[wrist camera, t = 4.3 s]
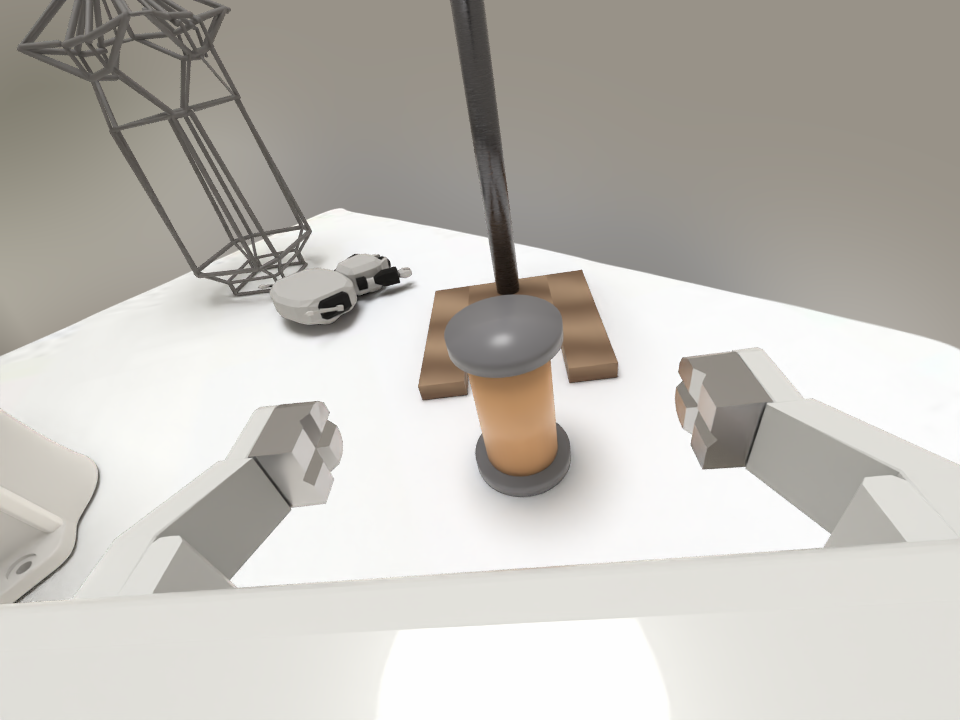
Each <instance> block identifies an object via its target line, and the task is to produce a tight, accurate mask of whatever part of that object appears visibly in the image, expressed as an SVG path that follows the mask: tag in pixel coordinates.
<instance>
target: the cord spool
mask: <svg viewBox="0 0 960 720" xmlns="http://www.w3.org/2000/svg"><path fill="white" fill-rule="evenodd" d="M444 339H445V343H446V346H447V350H448V354H449V357H450V359H451V361H452V362H453V363H454V365H455V366H457V367H458V368H459V369H461V370H463V371H464V372H467V373H468V375H469V380H470V384H471V388H472V392H473V397H474V401H475V405H476V409H477V413H478V418H479V422H480V426H481V430H482V434H481V436H480V438H479V439H478V442H477V445H476V453H475V454H476V460H477V464H478V468H479V471H480V474H481V476H482V478H483V479H484V480H485V482H486V483H487V484H488V485H489V486H491V487H492V488H493V489H495V490H497V491H498V492H501V493H503V494H506V495H510V496H517V497H526V496H533V495H537V494H541V493H543V492H546V491H548V490H550V489H551V488H553V487H554V486H556V485H557V484H558V483H559V482H560V481H561V480H562V479H563V478H564V476H565V475H566V473H567V471H568V469H569V466H570V461H571V454H570V443H569V439H568V436H567V434H566V432H565V431H564V430H563V428H562V427H561V426H560V425H559V424H557V423H556V419H555V407H554V396H553V384H552V372H551V361H550V360H551V359H552V358H553V357H554V356H555V355H556V354H557V353H558V351H559V350H560V348H561V346H562V343H563V321H562V316H561V314H560V311H559V310H558V309H557V308H556V307H555V306H554V305H553V304H551V303H550V302H548V301H546V300H544V299H541V298H538V297H534V296H529V295H501V296H495V297H490V298H487V299H483V300H480V301H478V302H475V303H473V304H471V305H469V306H467V307H465V308H463V309H462V310H460V311H459V312H458V313H456V314H455V315H454V316H453V317H452V318H451V320H450V321H449V322H448V324H447V326H446V328H445V332H444Z"/></svg>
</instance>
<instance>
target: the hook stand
mask: <svg viewBox="0 0 960 720" xmlns="http://www.w3.org/2000/svg"><path fill="white" fill-rule="evenodd" d="M450 3H451V9H452V15H453V21H454V27H455V34H456V40H457V46H458V52H459V58H460V65H461V71H462V77H463V83H464V89H465V96H466V102H467V108H468V114H469V121H470V126H471V133H472V139H473V146H474V152H475V158H476V164H477V170H478V176H479V183H480V189H481V195H482V201H483V207H484V214H485V220H486V226H487V232H488V239H489V245H490V251H491V257H492V264H493V270H494V276H495V282H496V289H497V293H498V294H500V295H512V294H515V293H517V292H518V291H519V289H520V287H519V279H518V271H517V263H516V255H515V247H514V239H513V231H512V223H511V215H510V207H509V200H508V191H507V183H506V175H505V167H504V158H503V151H502V142H501V134H500V127H499V119H498V111H497V103H496V94H495V86H494V78H493V70H492V62H491V54H490V46H489V38H488V31H487V22H486V14H485V6H484V0H450Z"/></svg>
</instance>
